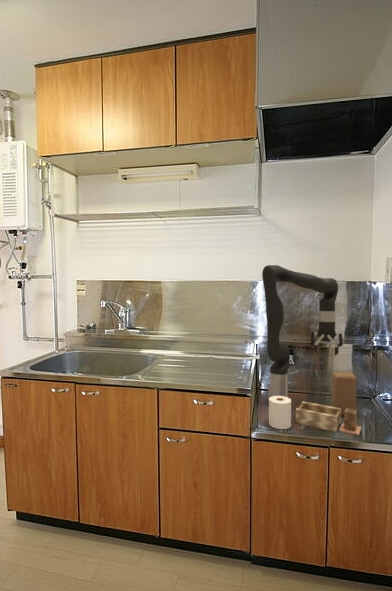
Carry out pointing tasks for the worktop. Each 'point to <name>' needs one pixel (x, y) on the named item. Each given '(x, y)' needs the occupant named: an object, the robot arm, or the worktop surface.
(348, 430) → the tile
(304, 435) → the worktop surface
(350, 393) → the wooden block
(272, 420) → the toilet paper
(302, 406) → the crate
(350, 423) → the walnut block
